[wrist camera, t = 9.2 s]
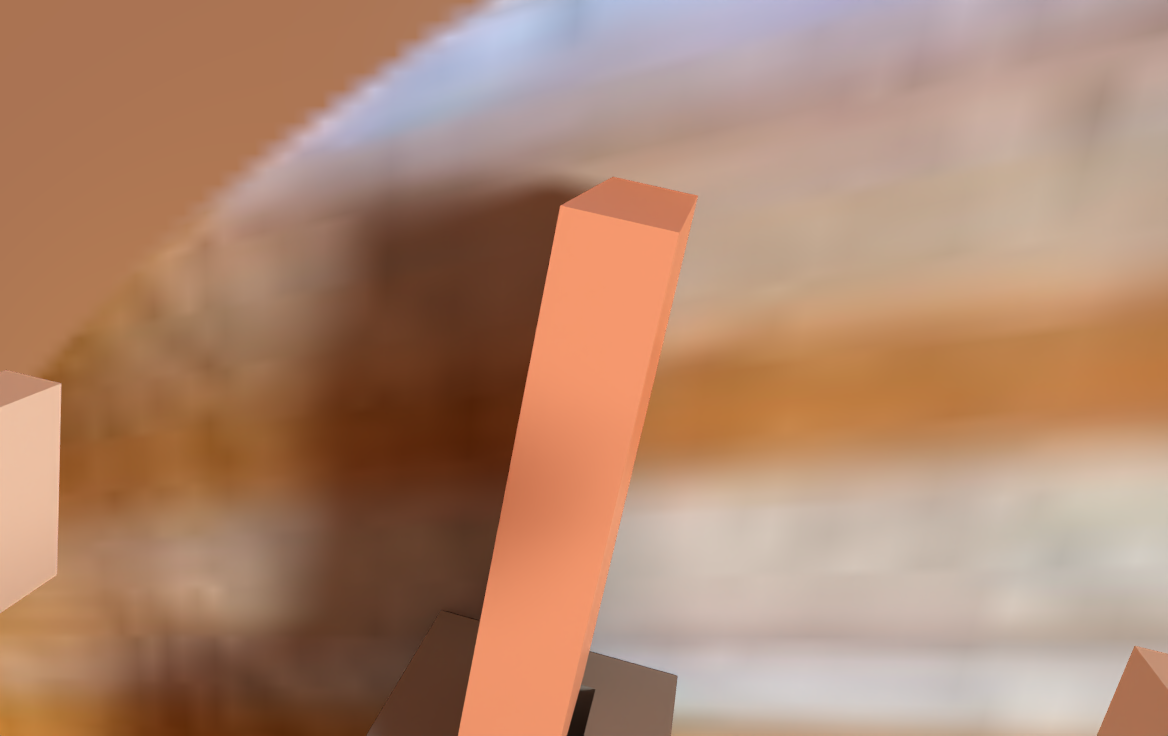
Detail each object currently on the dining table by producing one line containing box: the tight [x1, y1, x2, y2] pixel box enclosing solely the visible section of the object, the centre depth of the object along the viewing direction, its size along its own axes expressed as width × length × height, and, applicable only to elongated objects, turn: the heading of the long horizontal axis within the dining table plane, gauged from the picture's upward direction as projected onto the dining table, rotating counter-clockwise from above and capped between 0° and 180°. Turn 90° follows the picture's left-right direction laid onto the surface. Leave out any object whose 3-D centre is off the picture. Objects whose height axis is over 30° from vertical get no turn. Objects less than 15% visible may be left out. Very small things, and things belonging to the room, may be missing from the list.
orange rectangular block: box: [458, 177, 698, 736], centre depth 25 cm, size 16×2×8 cm, turn 168°
